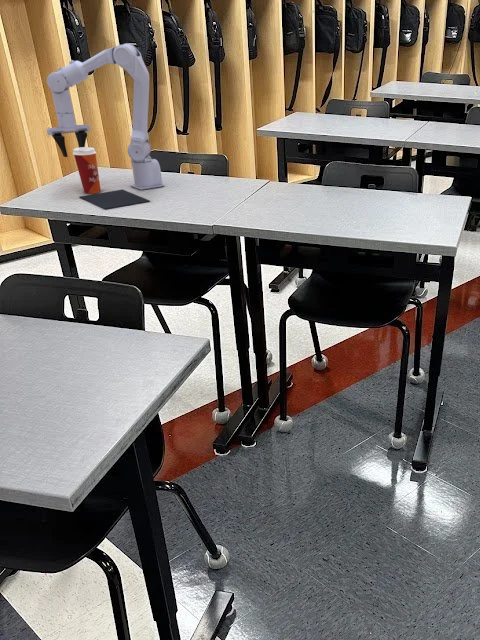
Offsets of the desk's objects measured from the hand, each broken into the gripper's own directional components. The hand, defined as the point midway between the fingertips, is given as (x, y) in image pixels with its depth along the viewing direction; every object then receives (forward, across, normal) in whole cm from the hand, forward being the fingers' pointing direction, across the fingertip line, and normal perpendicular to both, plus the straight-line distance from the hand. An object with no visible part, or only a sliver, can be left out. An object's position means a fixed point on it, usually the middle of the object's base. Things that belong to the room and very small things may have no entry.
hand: (74, 155), depth 232 cm
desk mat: (+10, -1, +25) cm, 27 cm away
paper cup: (+11, 0, +10) cm, 15 cm away
